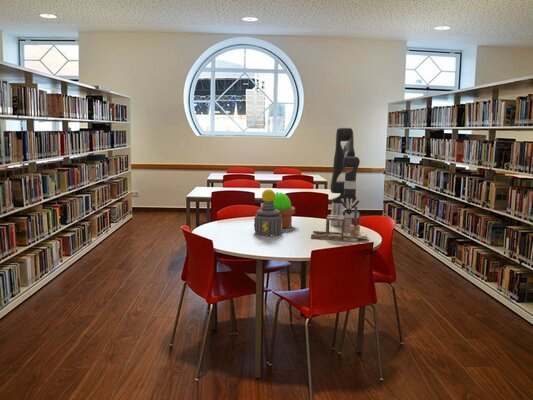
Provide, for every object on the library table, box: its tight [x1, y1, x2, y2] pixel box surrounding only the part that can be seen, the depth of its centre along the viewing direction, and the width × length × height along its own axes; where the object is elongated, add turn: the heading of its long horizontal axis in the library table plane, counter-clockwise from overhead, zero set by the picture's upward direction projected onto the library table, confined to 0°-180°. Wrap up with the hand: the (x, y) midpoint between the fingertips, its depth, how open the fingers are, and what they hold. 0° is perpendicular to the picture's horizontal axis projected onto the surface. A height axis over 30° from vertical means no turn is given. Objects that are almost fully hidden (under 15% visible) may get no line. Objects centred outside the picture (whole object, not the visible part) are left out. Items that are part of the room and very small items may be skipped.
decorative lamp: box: [253, 188, 283, 236], centre depth 322 cm, size 19×19×30 cm
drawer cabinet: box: [310, 214, 359, 242], centre depth 313 cm, size 30×12×14 cm, turn 78°
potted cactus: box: [273, 192, 296, 229], centre depth 348 cm, size 22×22×25 cm
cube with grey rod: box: [343, 206, 368, 239], centre depth 309 cm, size 16×9×19 cm, turn 78°
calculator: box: [343, 210, 361, 233], centre depth 328 cm, size 11×4×15 cm, turn 101°
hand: (348, 214), depth 310 cm, fingers closed
